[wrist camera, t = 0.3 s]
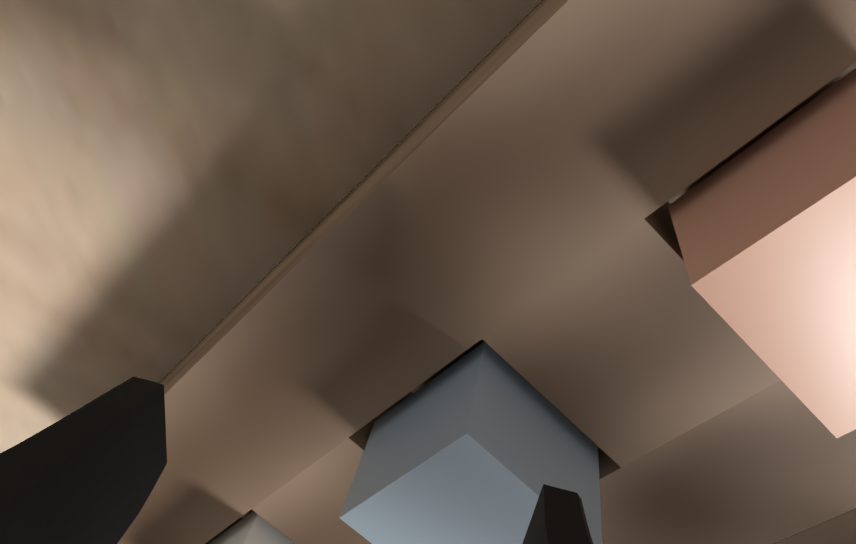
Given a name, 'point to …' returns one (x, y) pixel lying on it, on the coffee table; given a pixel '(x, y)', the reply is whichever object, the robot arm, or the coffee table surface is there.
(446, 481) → the slate key
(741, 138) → the board
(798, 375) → the pink cube
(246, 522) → the ivory key
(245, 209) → the coffee table surface
